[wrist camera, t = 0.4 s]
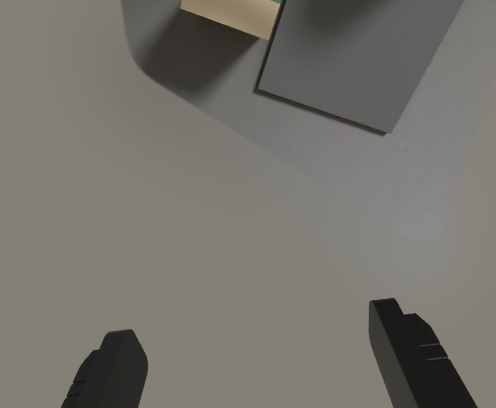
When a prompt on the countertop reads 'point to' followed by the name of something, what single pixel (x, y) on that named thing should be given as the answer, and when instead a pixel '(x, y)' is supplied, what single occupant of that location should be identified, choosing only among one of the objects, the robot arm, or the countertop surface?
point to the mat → (355, 55)
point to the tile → (238, 14)
